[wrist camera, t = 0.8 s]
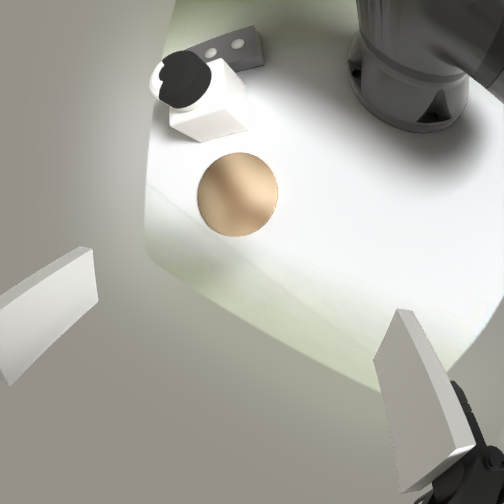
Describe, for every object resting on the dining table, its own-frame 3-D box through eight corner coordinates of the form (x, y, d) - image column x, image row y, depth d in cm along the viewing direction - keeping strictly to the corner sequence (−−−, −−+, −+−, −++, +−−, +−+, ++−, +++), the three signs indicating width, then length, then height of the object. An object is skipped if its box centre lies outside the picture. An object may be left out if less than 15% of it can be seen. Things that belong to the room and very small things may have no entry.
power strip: (259, 35, 31) (252, 24, 28) (264, 64, 31) (257, 53, 28) (181, 62, 35) (171, 54, 33) (180, 91, 35) (169, 84, 33)
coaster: (227, 140, 33) (225, 139, 33) (294, 179, 31) (293, 178, 30) (187, 208, 36) (184, 208, 35) (247, 253, 33) (245, 253, 32)
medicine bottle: (245, 83, 32) (200, 33, 21) (251, 130, 32) (201, 86, 21) (198, 99, 34) (143, 60, 23) (200, 143, 35) (139, 112, 23)
